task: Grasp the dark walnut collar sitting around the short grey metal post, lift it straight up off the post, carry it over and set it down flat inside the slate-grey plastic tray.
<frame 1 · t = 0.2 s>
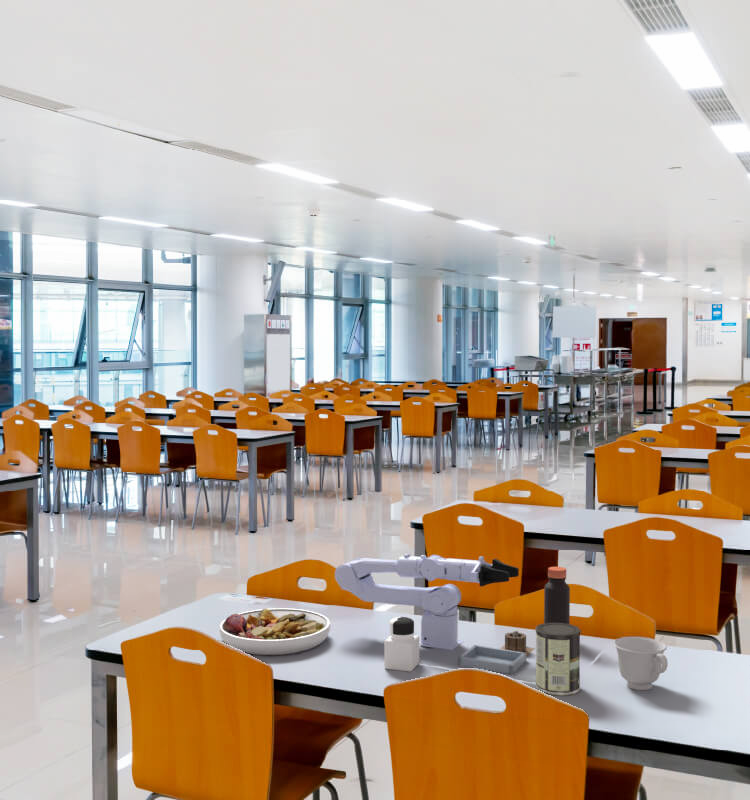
hand: (513, 574, 236), 21 cm above the table, tool horizontal, fingers open, 7 cm apart
tray: (492, 664, 230), on the table
post stand: (515, 652, 240), on the table
vinegar: (556, 641, 249), on the table
bowl: (275, 642, 250), on the table
coffee can: (557, 688, 214), on the table
medicine bottle: (402, 666, 229), on the table
teacup: (643, 688, 214), on the table
collar: (515, 650, 240), resting on post stand
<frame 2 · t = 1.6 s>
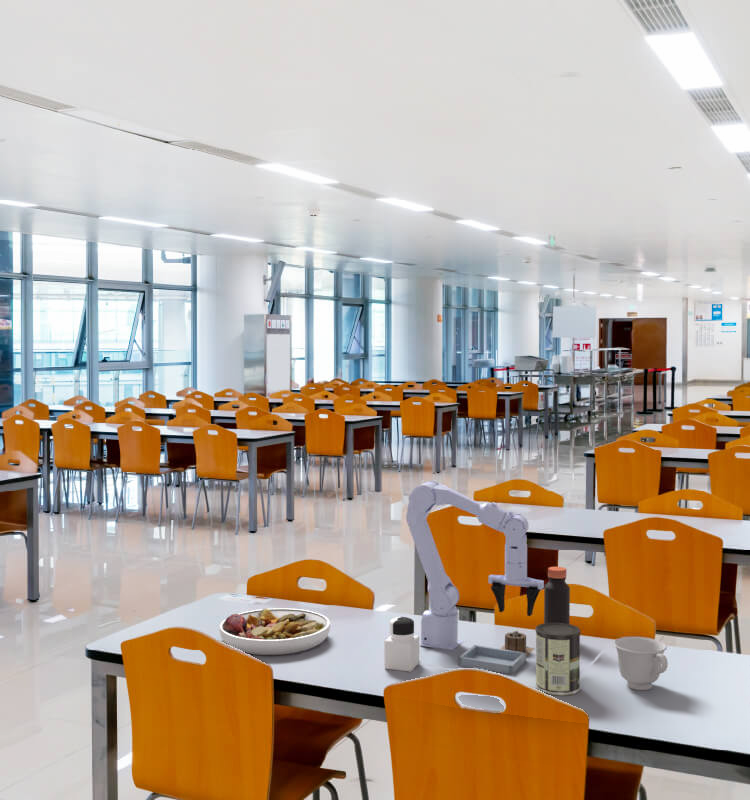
hand: (515, 613, 239), 10 cm above the table, tool pointing down, fingers open, 7 cm apart
nothing on the table moved.
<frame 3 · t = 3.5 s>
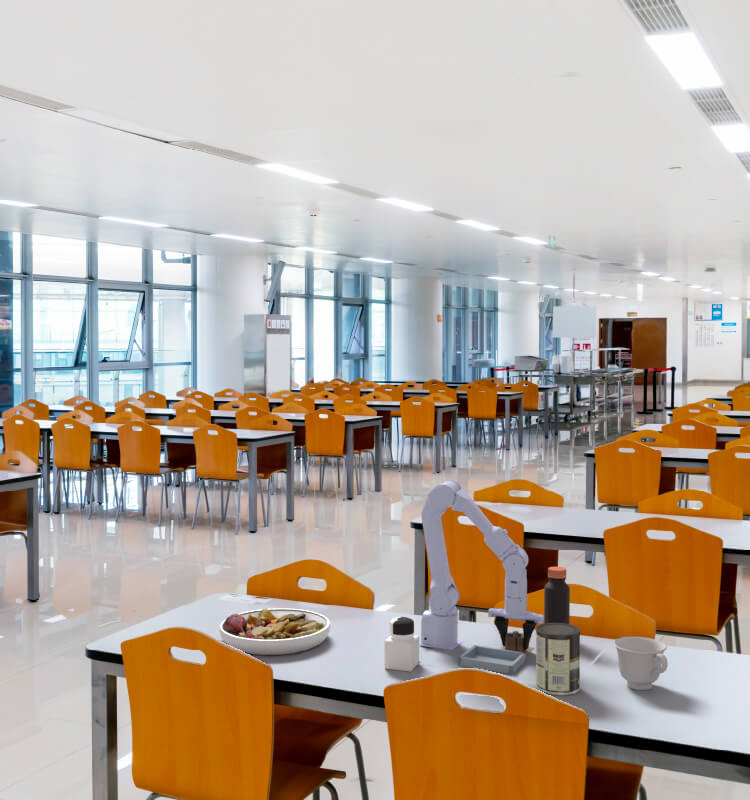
hand: (515, 646, 239), 1 cm above the table, tool pointing down, fingers closed on collar, 5 cm apart
collar: (515, 650, 240), point 1 cm above the table, touching gripper, post stand
everything else where it was.
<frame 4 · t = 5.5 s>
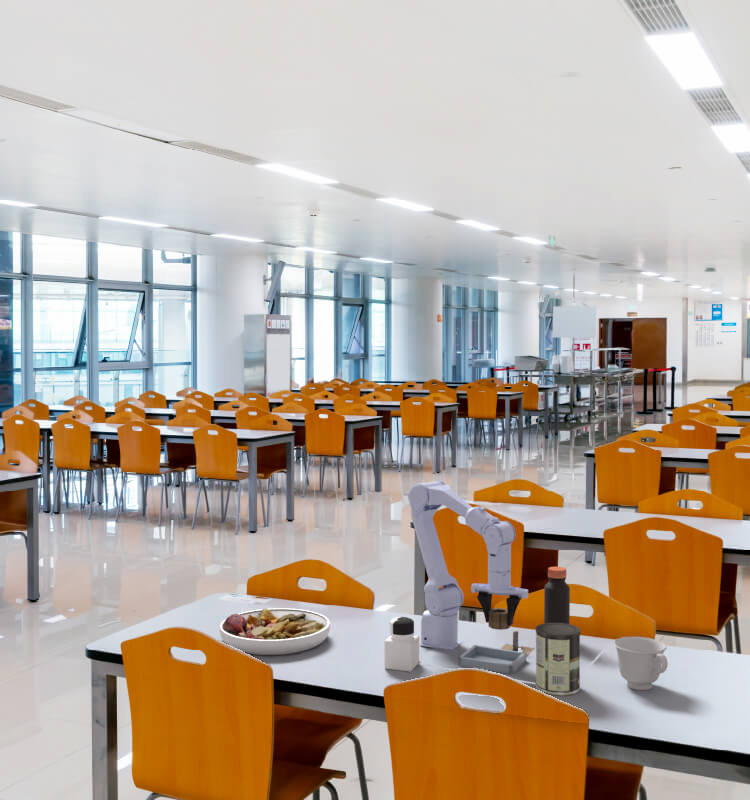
hand: (499, 623, 232), 10 cm above the table, tool pointing down, fingers closed on collar, 5 cm apart
collar: (499, 626, 232), point 9 cm above the table, touching gripper
everything else where it was.
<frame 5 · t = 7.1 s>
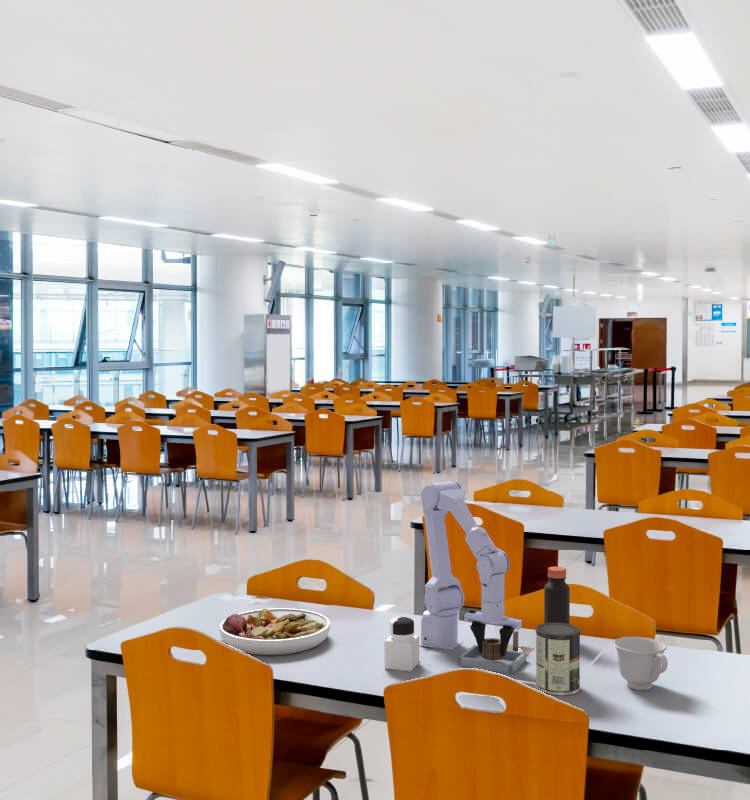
hand: (492, 653, 230), 3 cm above the table, tool pointing down, fingers closed on collar, 5 cm apart
collar: (492, 656, 230), point 2 cm above the table, touching gripper
everything else where it was.
when the fingers open (3 cm above the table, at t = 8.0 s): collar drops 1 cm, resting on tray.
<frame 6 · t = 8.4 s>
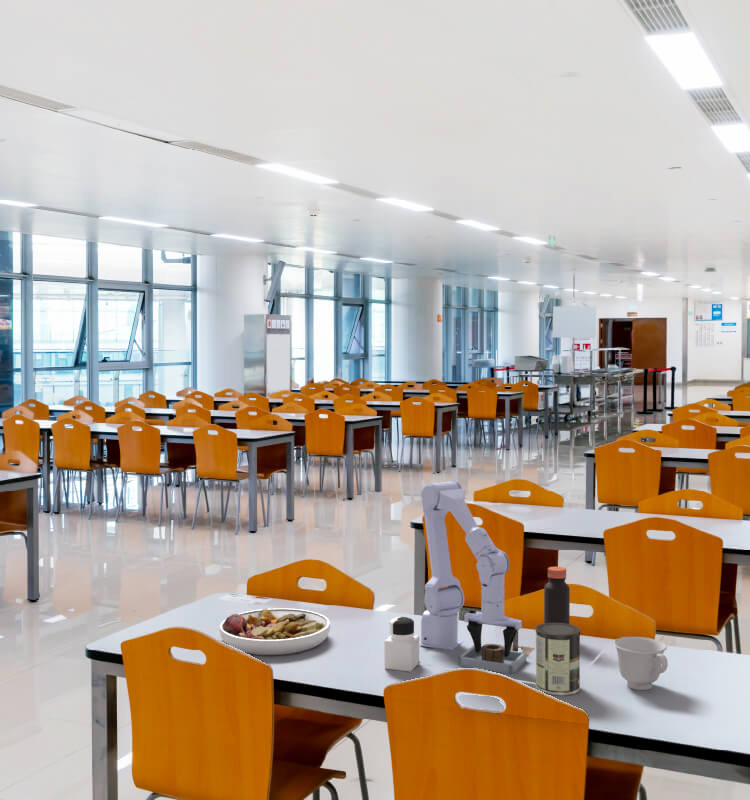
hand: (492, 653, 230), 3 cm above the table, tool pointing down, fingers open, 7 cm apart
collar: (492, 662, 230), resting on tray
everything else where it was.
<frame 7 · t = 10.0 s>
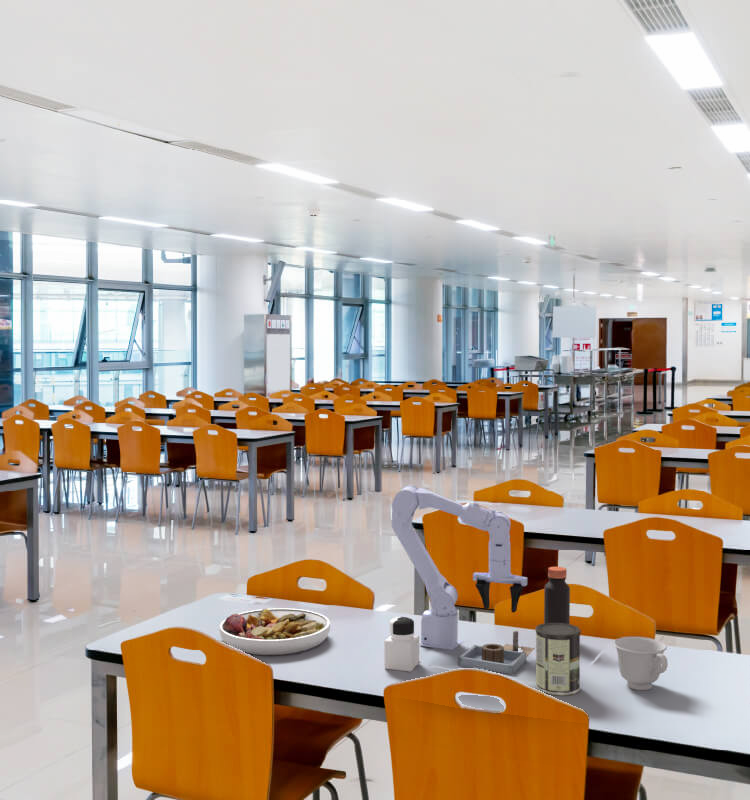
hand: (500, 609, 242), 10 cm above the table, tool pointing down, fingers open, 7 cm apart
nothing on the table moved.
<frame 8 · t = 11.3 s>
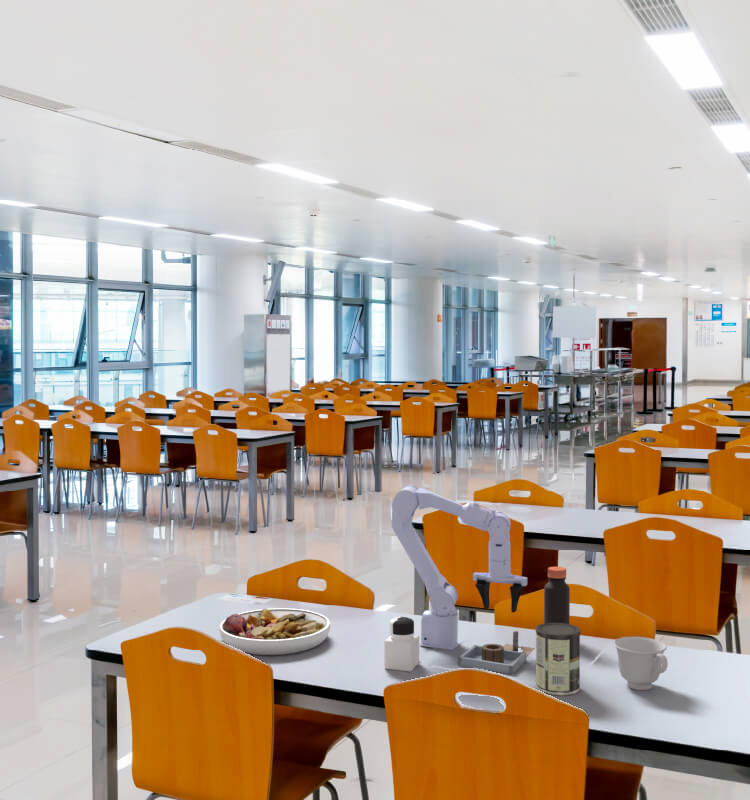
hand: (500, 609, 242), 10 cm above the table, tool pointing down, fingers open, 7 cm apart
nothing on the table moved.
at the end: collar inside the target area on the tray (0.1 cm from its centre), point 0.5 cm above the tray's base; collar tilted 0°; the gripper is holding nothing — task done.
